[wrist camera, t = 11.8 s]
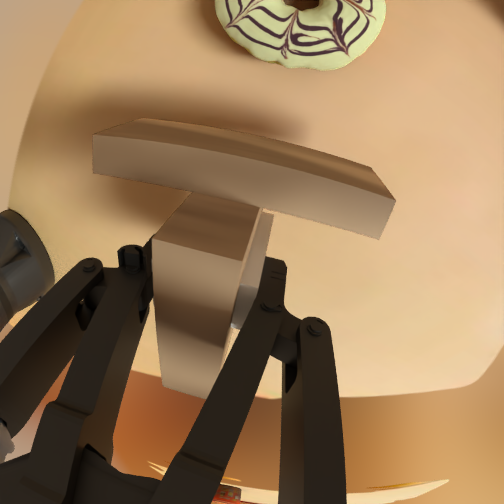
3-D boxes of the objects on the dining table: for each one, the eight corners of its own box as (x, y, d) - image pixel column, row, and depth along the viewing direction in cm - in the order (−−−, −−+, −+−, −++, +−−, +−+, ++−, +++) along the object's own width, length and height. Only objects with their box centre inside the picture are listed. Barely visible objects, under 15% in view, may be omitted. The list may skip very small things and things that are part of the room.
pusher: (310, 313, 22) (306, 419, 14) (140, 269, 22) (83, 353, 15) (370, 167, 15) (430, 252, 7) (142, 118, 15) (32, 161, 8)
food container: (243, 487, 100) (239, 505, 91) (245, 491, 109) (241, 507, 100) (211, 481, 103) (206, 499, 94) (215, 485, 112) (211, 501, 103)
